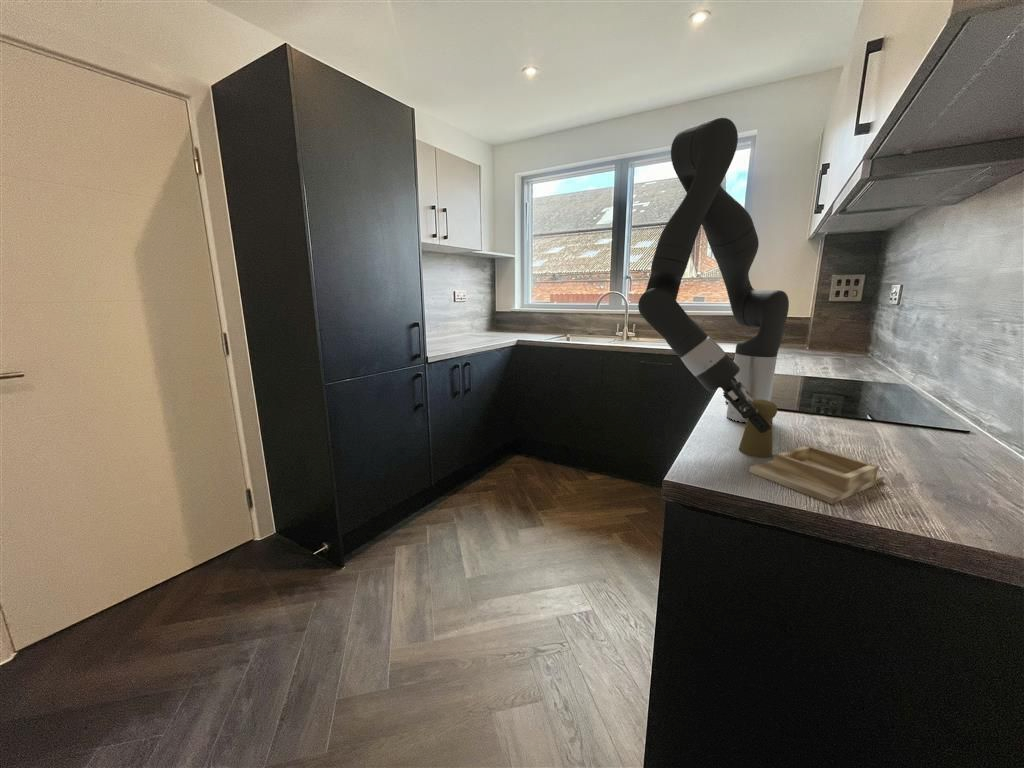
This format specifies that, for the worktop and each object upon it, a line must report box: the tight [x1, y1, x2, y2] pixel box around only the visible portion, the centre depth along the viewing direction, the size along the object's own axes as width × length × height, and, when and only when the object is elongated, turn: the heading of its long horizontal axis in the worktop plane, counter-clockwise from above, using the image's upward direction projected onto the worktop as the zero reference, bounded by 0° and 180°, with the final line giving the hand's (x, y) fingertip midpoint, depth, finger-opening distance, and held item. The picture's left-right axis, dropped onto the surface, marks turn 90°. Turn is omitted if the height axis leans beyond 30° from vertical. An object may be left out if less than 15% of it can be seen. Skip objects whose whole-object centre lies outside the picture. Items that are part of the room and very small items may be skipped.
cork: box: [738, 399, 778, 459], centre depth 82 cm, size 6×6×11 cm
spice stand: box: [748, 444, 885, 505], centre depth 72 cm, size 18×13×4 cm
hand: (764, 424), depth 82 cm, fingers open, 8 cm apart
